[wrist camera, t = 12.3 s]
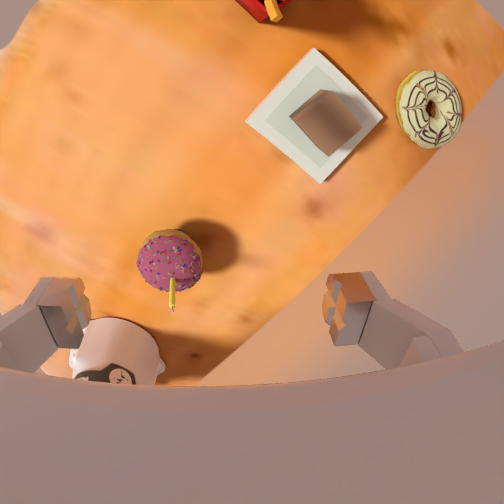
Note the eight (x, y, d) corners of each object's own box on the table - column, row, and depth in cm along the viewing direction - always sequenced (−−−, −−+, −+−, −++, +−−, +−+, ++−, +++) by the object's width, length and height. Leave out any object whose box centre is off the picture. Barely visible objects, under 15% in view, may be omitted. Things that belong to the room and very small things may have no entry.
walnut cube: (316, 146, 36) (328, 157, 32) (288, 116, 34) (297, 122, 30) (346, 120, 35) (362, 127, 30) (320, 89, 33) (333, 91, 28)
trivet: (317, 180, 40) (320, 184, 39) (244, 120, 36) (245, 122, 34) (378, 115, 36) (383, 117, 34) (310, 48, 31) (314, 47, 30)
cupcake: (217, 249, 44) (215, 307, 34) (172, 280, 47) (160, 339, 36) (176, 204, 41) (159, 252, 30) (132, 240, 43) (107, 293, 32)
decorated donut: (420, 158, 39) (434, 167, 36) (374, 103, 35) (387, 107, 32) (461, 112, 36) (477, 117, 32) (420, 55, 32) (436, 55, 28)
